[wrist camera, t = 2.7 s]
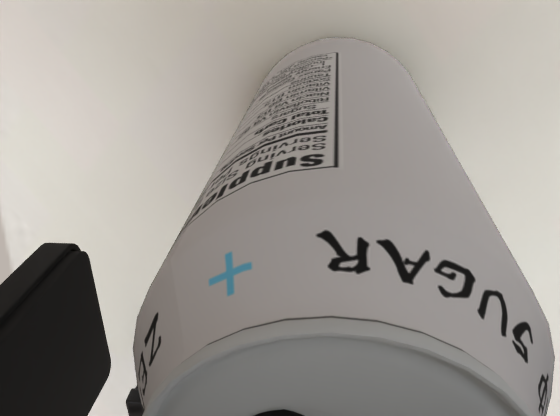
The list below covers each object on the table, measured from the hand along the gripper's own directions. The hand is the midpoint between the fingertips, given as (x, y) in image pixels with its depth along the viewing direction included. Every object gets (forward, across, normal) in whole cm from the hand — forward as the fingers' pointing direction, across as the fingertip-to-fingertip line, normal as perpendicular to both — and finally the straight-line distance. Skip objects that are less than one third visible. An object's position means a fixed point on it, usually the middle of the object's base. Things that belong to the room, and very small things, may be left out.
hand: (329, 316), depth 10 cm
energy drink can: (+11, 0, -1) cm, 11 cm away
